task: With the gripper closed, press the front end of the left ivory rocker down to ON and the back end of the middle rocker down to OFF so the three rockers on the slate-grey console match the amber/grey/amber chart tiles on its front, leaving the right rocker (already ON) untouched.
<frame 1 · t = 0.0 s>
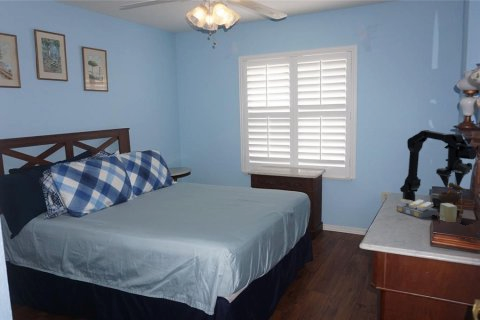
hand: (452, 186, 193), 15 cm above the table, tool pointing down, fingers open, 9 cm apart
console: (416, 212, 196), on the table
music box: (447, 221, 181), on the table
electrical switch: (440, 210, 201), on the table
rocker left: (408, 201, 201), point 5 cm above the table, hinge at -14.0°
skincare box: (447, 230, 167), on the table
rocker middle: (416, 203, 196), point 5 cm above the table, hinge at 14.0°
rocker right: (425, 206, 191), point 5 cm above the table, hinge at 14.0°
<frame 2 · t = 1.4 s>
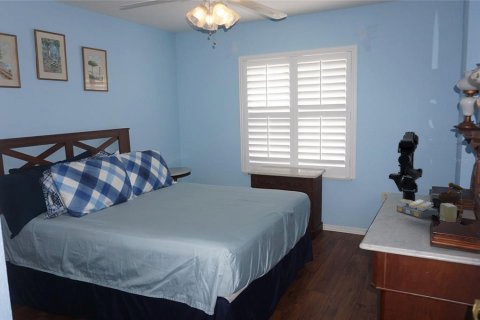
hand: (404, 190, 199), 12 cm above the table, tool pointing down, fingers open, 6 cm apart
nothing on the table moved.
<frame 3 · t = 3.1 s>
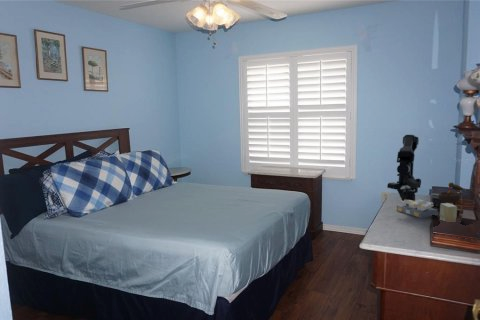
hand: (402, 200, 199), 6 cm above the table, tool pointing down, fingers closed, pressing on rocker left
rocker left: (408, 201, 201), point 5 cm above the table, hinge at -11.3°, touching gripper
everything else where it was.
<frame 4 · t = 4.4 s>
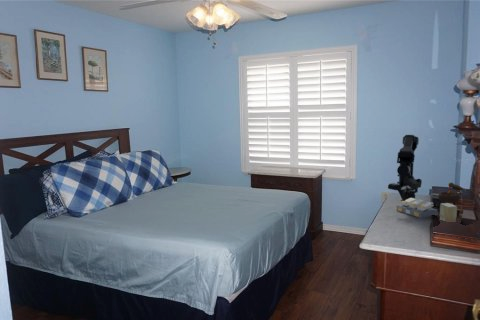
hand: (403, 200, 199), 6 cm above the table, tool pointing down, fingers closed
rocker left: (408, 201, 201), point 5 cm above the table, hinge at 11.1°
everything else where it was.
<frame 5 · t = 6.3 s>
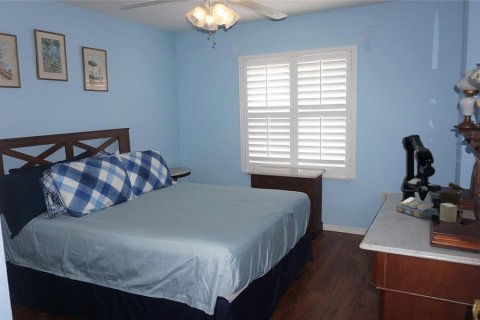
hand: (422, 201, 197), 6 cm above the table, tool pointing down, fingers closed, pressing on rocker middle
rocker left: (408, 201, 201), point 5 cm above the table, hinge at 17.9°
rocker middle: (416, 203, 196), point 5 cm above the table, hinge at 11.7°, touching gripper
everything else where it was.
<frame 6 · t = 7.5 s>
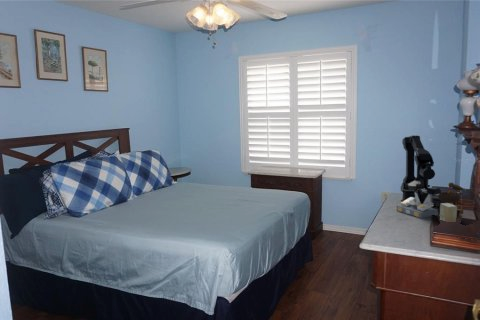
hand: (421, 203, 197), 5 cm above the table, tool pointing down, fingers closed
rocker left: (408, 201, 201), point 5 cm above the table, hinge at 18.6°, touching console
rocker middle: (416, 203, 196), point 5 cm above the table, hinge at -18.3°, touching console
everything else where it was.
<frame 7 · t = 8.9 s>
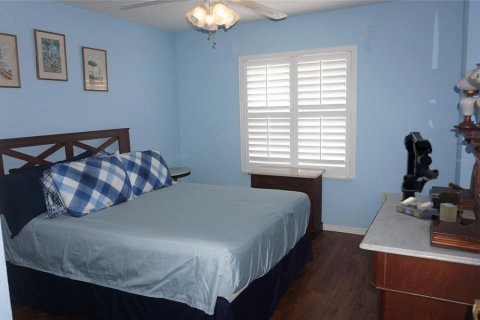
hand: (419, 192, 191), 12 cm above the table, tool pointing down, fingers closed
rocker middle: (416, 203, 196), point 5 cm above the table, hinge at -14.0°
everything else where it was.
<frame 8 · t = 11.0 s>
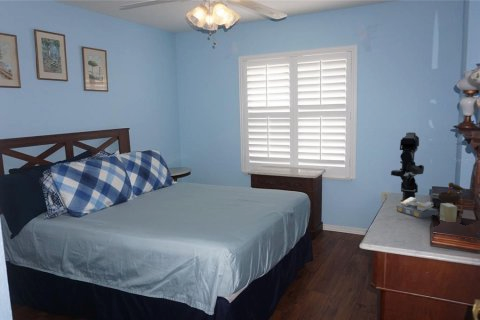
hand: (406, 187, 204), 13 cm above the table, tool pointing down, fingers closed
rocker middle: (416, 203, 196), point 5 cm above the table, hinge at -12.1°
everything else where it was.
at the end: rocker left at +18° (first picture: -14°); rocker middle at -12° (first picture: +14°); rocker right at +14° (first picture: +14°) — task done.
